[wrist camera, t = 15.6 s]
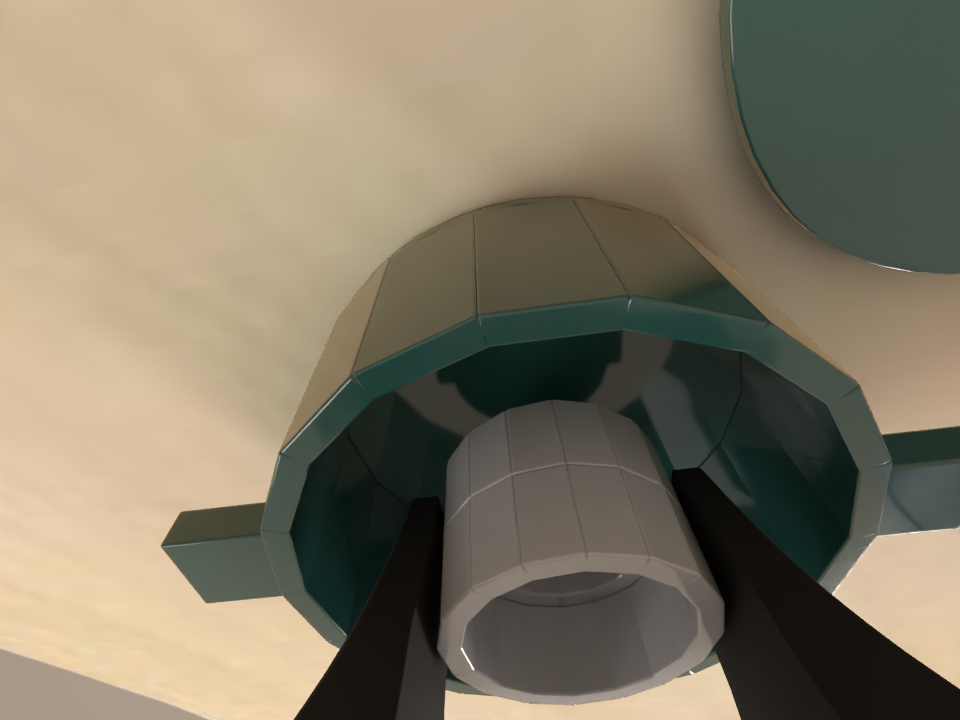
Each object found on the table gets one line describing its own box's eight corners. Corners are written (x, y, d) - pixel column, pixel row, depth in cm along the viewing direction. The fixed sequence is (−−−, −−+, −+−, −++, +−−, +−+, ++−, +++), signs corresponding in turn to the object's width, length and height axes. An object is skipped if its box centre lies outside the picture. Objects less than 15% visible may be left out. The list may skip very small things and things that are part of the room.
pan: (152, 251, 12) (-28, 381, 8) (922, 141, 11) (1225, 217, 7) (317, 561, 19) (271, 723, 15) (798, 511, 18) (905, 669, 14)
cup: (582, 346, 11) (640, 510, 7) (685, 478, 14) (769, 650, 10) (402, 457, 13) (376, 633, 9) (522, 555, 15) (541, 726, 12)
